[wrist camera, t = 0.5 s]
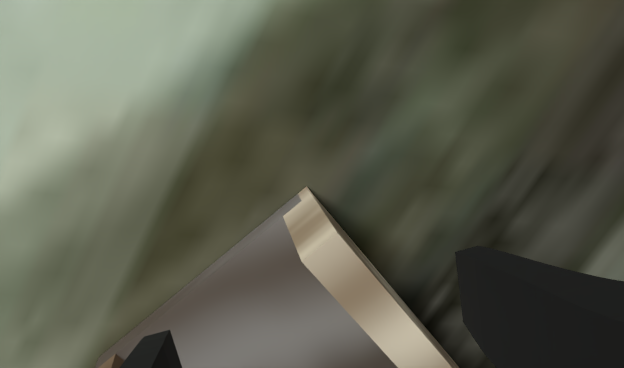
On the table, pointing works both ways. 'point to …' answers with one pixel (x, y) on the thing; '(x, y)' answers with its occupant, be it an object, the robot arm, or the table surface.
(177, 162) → the table surface
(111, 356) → the cleat board
